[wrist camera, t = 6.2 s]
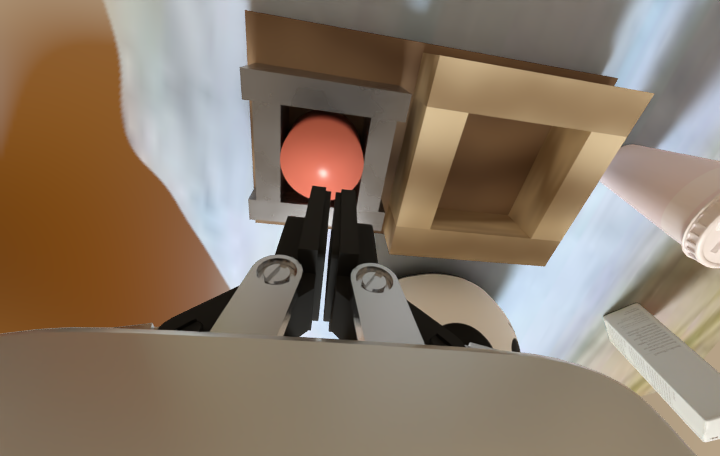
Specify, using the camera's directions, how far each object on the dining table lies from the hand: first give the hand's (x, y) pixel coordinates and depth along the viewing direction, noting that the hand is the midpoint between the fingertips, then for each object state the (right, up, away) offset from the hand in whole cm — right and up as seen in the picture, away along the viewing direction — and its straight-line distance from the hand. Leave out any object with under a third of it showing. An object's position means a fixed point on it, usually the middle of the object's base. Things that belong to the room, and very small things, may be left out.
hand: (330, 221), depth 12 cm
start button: (-1, +5, +9) cm, 10 cm away
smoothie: (+23, +5, +13) cm, 27 cm away
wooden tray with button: (+6, +6, +11) cm, 14 cm away
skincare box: (+34, -12, +25) cm, 44 cm away
